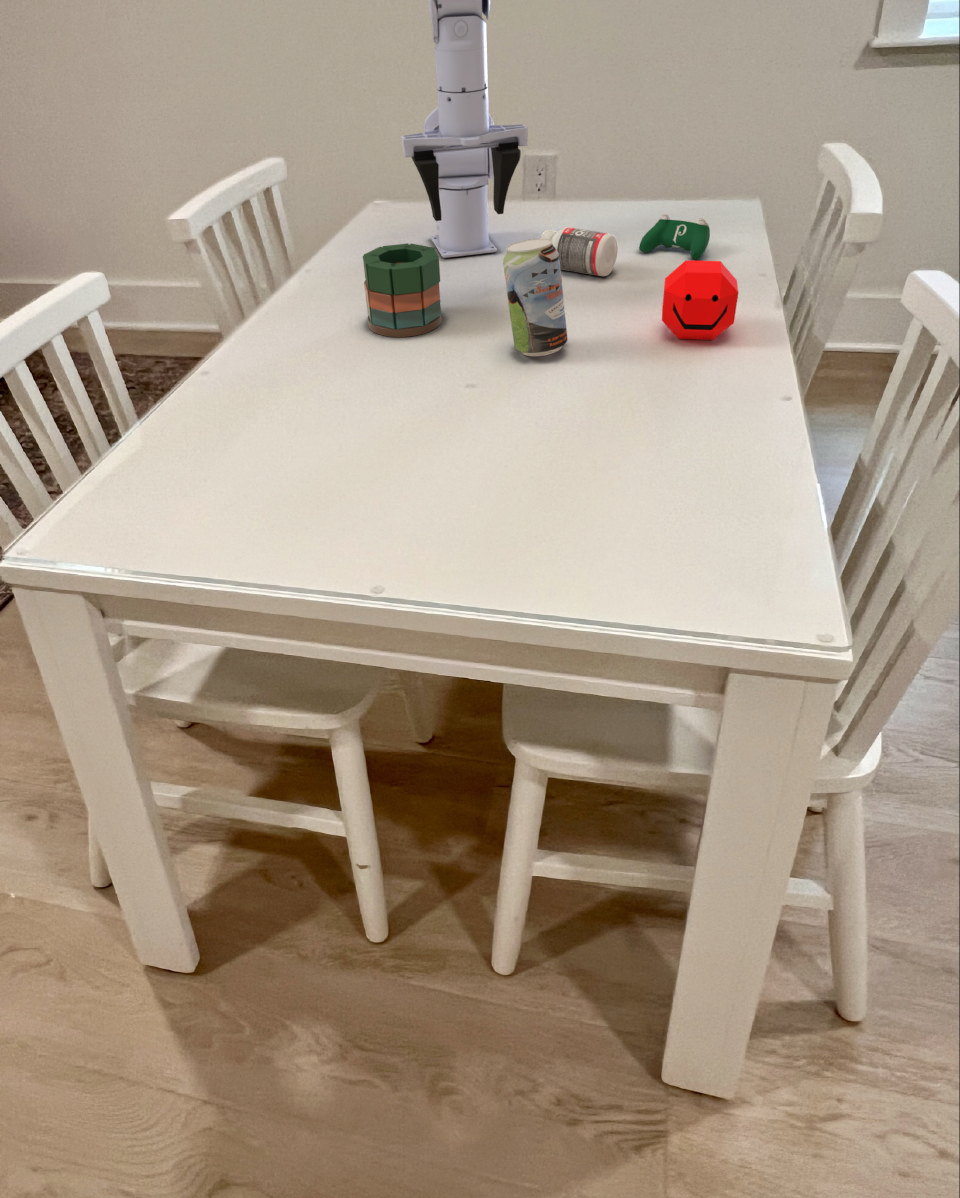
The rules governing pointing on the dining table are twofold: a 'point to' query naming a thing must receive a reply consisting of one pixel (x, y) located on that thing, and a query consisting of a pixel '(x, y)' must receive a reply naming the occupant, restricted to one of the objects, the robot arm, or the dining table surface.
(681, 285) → the ball
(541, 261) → the beverage can
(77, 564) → the dining table surface
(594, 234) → the pill bottle
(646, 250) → the gaming controller
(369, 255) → the green ring
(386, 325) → the ring stack
